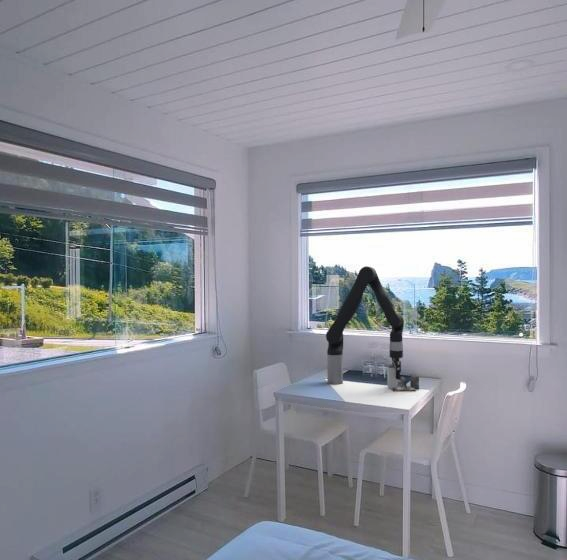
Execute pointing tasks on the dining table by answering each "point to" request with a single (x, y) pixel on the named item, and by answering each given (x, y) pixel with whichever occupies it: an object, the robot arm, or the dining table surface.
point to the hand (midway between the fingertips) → (396, 377)
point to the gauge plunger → (403, 382)
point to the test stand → (413, 383)
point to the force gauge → (392, 377)
